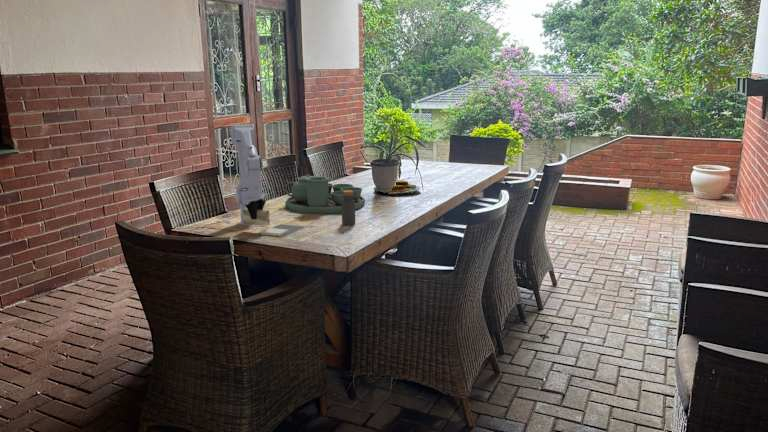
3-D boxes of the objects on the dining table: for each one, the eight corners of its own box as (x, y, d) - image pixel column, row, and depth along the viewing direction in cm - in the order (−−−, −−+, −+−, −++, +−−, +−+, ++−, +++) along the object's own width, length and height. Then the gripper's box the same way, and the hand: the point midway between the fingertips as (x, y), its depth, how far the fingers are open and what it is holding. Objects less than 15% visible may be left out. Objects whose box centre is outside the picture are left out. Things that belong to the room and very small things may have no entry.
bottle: (355, 222, 270) (354, 189, 267) (355, 225, 265) (354, 192, 261) (342, 222, 270) (341, 189, 267) (341, 225, 264) (341, 192, 261)
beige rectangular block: (247, 222, 256) (246, 208, 255) (269, 224, 252) (269, 210, 250) (243, 223, 253) (242, 209, 252) (265, 225, 249) (265, 211, 248)
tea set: (376, 210, 297) (375, 177, 294) (296, 217, 283) (295, 182, 279) (349, 196, 333) (348, 166, 330) (277, 202, 318) (276, 171, 315)
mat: (280, 225, 266) (280, 224, 266) (306, 228, 261) (306, 226, 261) (254, 236, 248) (254, 234, 248) (281, 239, 243) (281, 237, 243)
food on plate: (398, 199, 325) (398, 187, 323) (367, 193, 342) (367, 181, 341) (430, 192, 342) (430, 181, 341) (398, 187, 360) (398, 176, 358)
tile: (270, 227, 254) (288, 229, 251) (270, 230, 255) (288, 232, 251) (260, 231, 248) (279, 233, 245) (260, 234, 248) (279, 236, 245)
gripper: (252, 189, 241) (254, 222, 244) (272, 183, 254) (273, 215, 257) (237, 188, 243) (239, 221, 247) (258, 182, 257) (259, 214, 260)
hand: (256, 218), depth 252 cm, fingers closed on beige rectangular block, 3 cm apart
